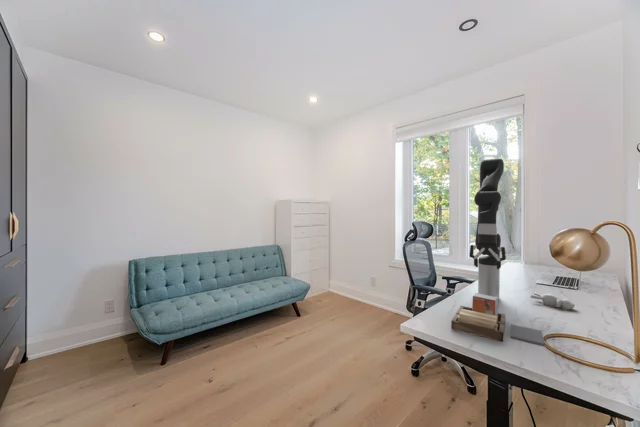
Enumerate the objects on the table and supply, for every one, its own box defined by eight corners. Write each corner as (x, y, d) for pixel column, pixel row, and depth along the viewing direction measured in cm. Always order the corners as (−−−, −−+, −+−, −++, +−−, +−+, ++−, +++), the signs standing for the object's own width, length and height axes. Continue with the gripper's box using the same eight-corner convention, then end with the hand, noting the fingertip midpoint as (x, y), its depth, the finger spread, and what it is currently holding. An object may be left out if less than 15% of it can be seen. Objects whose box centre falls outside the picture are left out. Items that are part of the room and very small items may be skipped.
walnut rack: (460, 312, 116) (460, 305, 116) (505, 321, 106) (505, 314, 106) (451, 328, 100) (451, 320, 100) (502, 341, 90) (503, 332, 90)
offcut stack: (460, 323, 105) (460, 308, 105) (497, 332, 97) (498, 316, 97) (457, 328, 100) (457, 313, 100) (496, 338, 93) (496, 321, 93)
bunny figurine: (572, 303, 116) (530, 291, 128) (570, 315, 116) (528, 301, 128) (576, 299, 122) (535, 288, 133) (574, 310, 122) (534, 297, 134)
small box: (471, 321, 106) (472, 295, 106) (475, 317, 110) (475, 292, 110) (495, 327, 101) (495, 300, 101) (498, 323, 105) (498, 296, 105)
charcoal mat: (511, 325, 103) (511, 324, 103) (541, 332, 97) (541, 330, 97) (510, 337, 93) (510, 335, 93) (543, 345, 88) (543, 343, 88)
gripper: (506, 234, 124) (506, 269, 123) (471, 232, 132) (471, 265, 132) (505, 234, 118) (504, 271, 117) (468, 232, 127) (468, 267, 126)
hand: (487, 268), depth 124 cm, fingers open, 8 cm apart
